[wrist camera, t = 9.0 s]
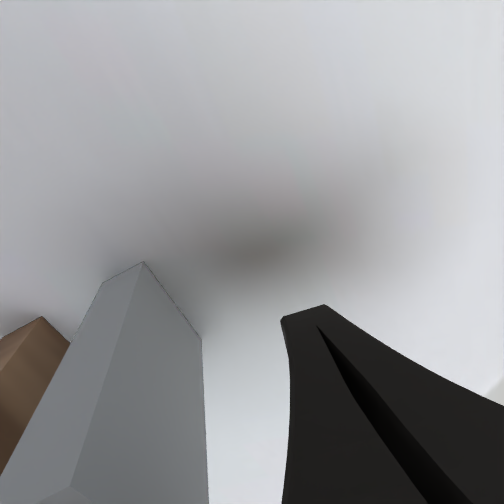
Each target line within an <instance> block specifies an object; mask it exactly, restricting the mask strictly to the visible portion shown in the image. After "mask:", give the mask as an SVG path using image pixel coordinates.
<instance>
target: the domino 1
mask: <svg viewBox="0 0 504 504" xmlns="http://www.w3.org/2000/svg"><path fill="white" fill-rule="evenodd" d="M69 346H70V343H69V342H68V341H67V340H66V339H65V338H64V337H63V336H62V335H61V334H60V333H59V332H58V331H57V330H56V329H55V328H54V327H52V326H51V325H50V324H49V323H48V322H47V321H46V320H45V319H44V318H43V317H42V316H41V317H40V318H38V319H36V320H34V321H32V322H30V323H28V324H27V325H25V326H23V327H21V328H19V329H17V330H16V331H14V332H12V333H10V334H8V335H6V336H4V337H3V338H2V339H1V340H0V476H1V474H2V472H3V470H4V469H5V467H6V465H7V463H8V461H9V459H10V457H11V455H12V453H13V452H14V450H15V448H16V446H17V444H18V442H19V440H20V438H21V436H22V435H23V433H24V431H25V429H26V427H27V425H28V423H29V421H30V419H31V418H32V416H33V414H34V412H35V410H36V408H37V406H38V404H39V402H40V401H41V399H42V397H43V395H44V393H45V391H46V389H47V387H48V385H49V384H50V382H51V380H52V378H53V376H54V374H55V372H56V370H57V368H58V366H59V365H60V363H61V361H62V359H63V357H64V355H65V353H66V351H67V349H68V348H69Z"/></svg>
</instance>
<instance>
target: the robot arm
mask: <svg viewBox="0 0 504 504" xmlns="http://www.w3.org/2000/svg"><path fill="white" fill-rule="evenodd" d="M280 322H281V327H282V331H283V336H284V340H285V344H286V349H287V353H288V358H289V369H290V420H289V437H288V450H287V461H286V470H285V479H284V488H283V496H282V504H504V406H503V405H500V404H498V403H496V402H494V401H491V400H489V399H487V398H485V397H482V396H480V395H478V394H476V393H474V392H472V391H470V390H468V389H466V388H464V387H462V386H459V385H457V384H455V383H453V382H451V381H449V380H447V379H445V378H443V377H441V376H439V375H438V374H436V373H434V372H432V371H430V370H428V369H426V368H425V367H423V366H421V365H419V364H417V363H416V362H414V361H412V360H410V359H408V358H407V357H405V356H403V355H402V354H400V353H398V352H397V351H395V350H393V349H392V348H390V347H388V346H387V345H385V344H384V343H382V342H380V341H379V340H377V339H376V338H374V337H372V336H371V335H369V334H368V333H366V332H365V331H363V330H362V329H360V328H359V327H357V326H356V325H354V324H353V323H351V322H350V321H348V320H347V319H346V318H344V317H343V316H341V315H340V314H338V313H337V312H336V311H334V310H333V309H331V308H330V307H328V306H327V305H325V304H323V305H320V306H317V307H313V308H310V309H307V310H303V311H300V312H297V313H293V314H290V315H287V316H283V318H282V319H281V320H280Z"/></svg>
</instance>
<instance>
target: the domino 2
mask: <svg viewBox="0 0 504 504" xmlns="http://www.w3.org/2000/svg"><path fill="white" fill-rule="evenodd" d="M0 504H209V494H208V473H207V451H206V429H205V407H204V385H203V363H202V341H201V339H200V337H199V336H198V335H197V333H196V332H195V330H194V329H193V328H192V326H191V325H190V324H189V322H188V321H187V320H186V318H185V317H184V316H183V314H182V313H181V312H180V310H179V309H178V308H177V306H176V305H175V304H174V302H173V301H172V299H171V298H170V297H169V295H168V294H167V293H166V291H165V290H164V289H163V287H162V286H161V285H160V283H159V282H158V281H157V279H156V278H155V277H154V275H153V274H152V272H151V271H150V270H149V268H148V267H147V266H146V264H145V263H144V262H141V263H140V264H138V265H136V266H134V267H132V268H130V269H128V270H126V271H124V272H122V273H121V274H119V275H117V276H115V277H113V278H111V279H109V280H107V281H105V282H103V283H102V285H101V287H100V289H99V291H98V293H97V295H96V297H95V298H94V300H93V302H92V304H91V306H90V308H89V310H88V312H87V314H86V315H85V317H84V319H83V321H82V323H81V325H80V327H79V329H78V331H77V332H76V334H75V336H74V338H73V340H72V342H71V344H70V346H69V348H68V349H67V351H66V353H65V355H64V357H63V359H62V361H61V363H60V365H59V366H58V368H57V370H56V372H55V374H54V376H53V378H52V380H51V382H50V384H49V385H48V387H47V389H46V391H45V393H44V395H43V397H42V399H41V401H40V402H39V404H38V406H37V408H36V410H35V412H34V414H33V416H32V418H31V419H30V421H29V423H28V425H27V427H26V429H25V431H24V433H23V435H22V436H21V438H20V440H19V442H18V444H17V446H16V448H15V450H14V452H13V453H12V455H11V457H10V459H9V461H8V463H7V465H6V467H5V469H4V470H3V472H2V474H1V476H0Z"/></svg>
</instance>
